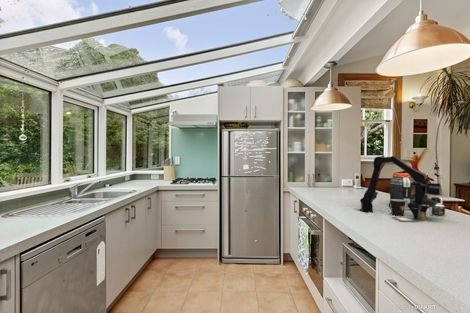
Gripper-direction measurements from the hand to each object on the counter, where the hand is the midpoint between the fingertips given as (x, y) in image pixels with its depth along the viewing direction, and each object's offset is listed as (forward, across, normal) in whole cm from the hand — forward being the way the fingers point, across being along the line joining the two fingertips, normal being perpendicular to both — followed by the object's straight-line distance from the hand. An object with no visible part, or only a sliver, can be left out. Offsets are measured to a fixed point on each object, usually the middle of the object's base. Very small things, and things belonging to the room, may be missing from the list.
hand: (419, 218), depth 165 cm
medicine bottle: (+1, +22, -1) cm, 23 cm away
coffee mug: (+1, 0, +14) cm, 14 cm away
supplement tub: (+1, +28, +23) cm, 36 cm away
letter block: (+1, 0, 0) cm, 1 cm away
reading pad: (+1, -9, +5) cm, 10 cm away
